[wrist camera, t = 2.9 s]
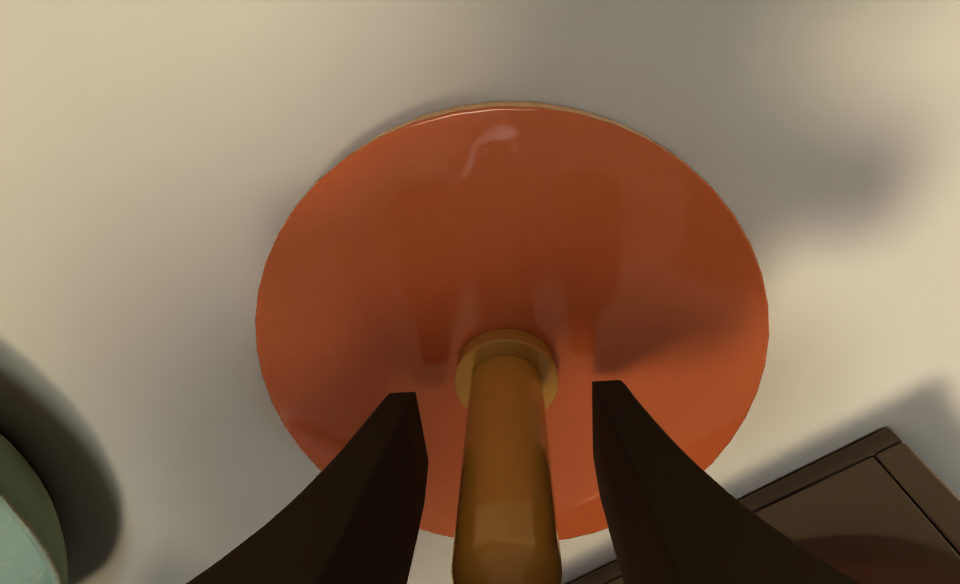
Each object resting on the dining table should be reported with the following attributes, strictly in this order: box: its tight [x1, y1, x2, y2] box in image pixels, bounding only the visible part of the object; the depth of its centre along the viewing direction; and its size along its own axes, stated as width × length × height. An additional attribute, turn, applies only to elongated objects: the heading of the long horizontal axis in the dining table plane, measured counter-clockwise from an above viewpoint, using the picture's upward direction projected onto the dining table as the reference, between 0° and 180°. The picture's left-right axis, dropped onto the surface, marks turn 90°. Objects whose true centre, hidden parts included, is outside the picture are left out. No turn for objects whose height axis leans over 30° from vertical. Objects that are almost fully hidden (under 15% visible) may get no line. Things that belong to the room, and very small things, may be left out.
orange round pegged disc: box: [255, 102, 769, 584], centre depth 11 cm, size 13×13×7 cm
